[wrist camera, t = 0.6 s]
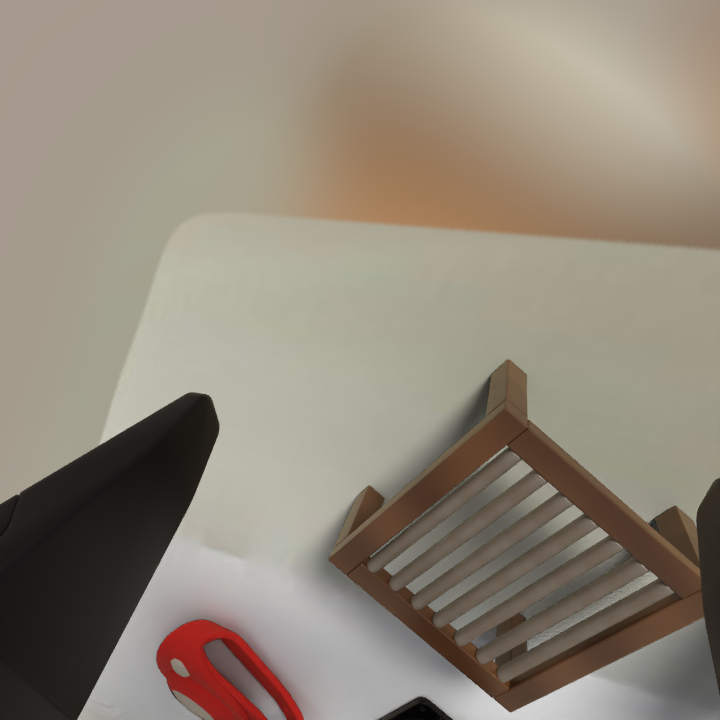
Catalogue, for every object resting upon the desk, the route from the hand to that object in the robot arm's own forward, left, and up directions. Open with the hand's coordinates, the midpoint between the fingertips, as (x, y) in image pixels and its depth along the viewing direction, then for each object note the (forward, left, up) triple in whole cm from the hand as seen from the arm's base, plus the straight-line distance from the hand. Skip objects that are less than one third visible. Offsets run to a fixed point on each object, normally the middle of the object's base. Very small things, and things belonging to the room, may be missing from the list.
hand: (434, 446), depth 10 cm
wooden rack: (-9, -10, -16) cm, 21 cm away
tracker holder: (-35, -8, -16) cm, 39 cm away
